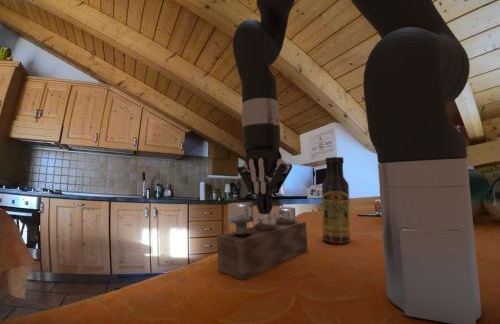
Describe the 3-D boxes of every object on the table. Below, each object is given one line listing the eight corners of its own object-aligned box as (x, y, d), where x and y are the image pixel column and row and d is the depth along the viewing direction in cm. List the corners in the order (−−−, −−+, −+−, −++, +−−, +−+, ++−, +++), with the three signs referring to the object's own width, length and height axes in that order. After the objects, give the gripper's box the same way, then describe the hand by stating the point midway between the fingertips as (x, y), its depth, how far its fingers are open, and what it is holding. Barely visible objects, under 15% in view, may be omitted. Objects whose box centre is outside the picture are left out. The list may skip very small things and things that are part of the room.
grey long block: (283, 245, 58) (281, 219, 58) (307, 250, 53) (305, 221, 53) (218, 270, 44) (216, 236, 44) (243, 280, 39) (242, 241, 40)
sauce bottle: (322, 244, 57) (317, 157, 58) (323, 237, 63) (318, 158, 64) (353, 245, 55) (347, 155, 56) (351, 238, 61) (345, 157, 62)
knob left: (247, 248, 41) (245, 205, 42) (224, 246, 43) (223, 205, 43) (258, 241, 45) (256, 202, 45) (237, 239, 47) (235, 202, 47)
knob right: (293, 245, 50) (291, 210, 51) (273, 243, 52) (271, 209, 53) (299, 239, 54) (297, 207, 55) (279, 238, 56) (278, 207, 57)
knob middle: (273, 253, 46) (271, 215, 46) (251, 251, 48) (249, 214, 48) (281, 247, 50) (279, 211, 50) (260, 245, 52) (259, 211, 52)
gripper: (224, 128, 52) (228, 213, 51) (275, 116, 43) (280, 219, 42) (250, 132, 57) (253, 208, 56) (299, 121, 48) (304, 212, 47)
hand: (265, 212), depth 49 cm, fingers closed
